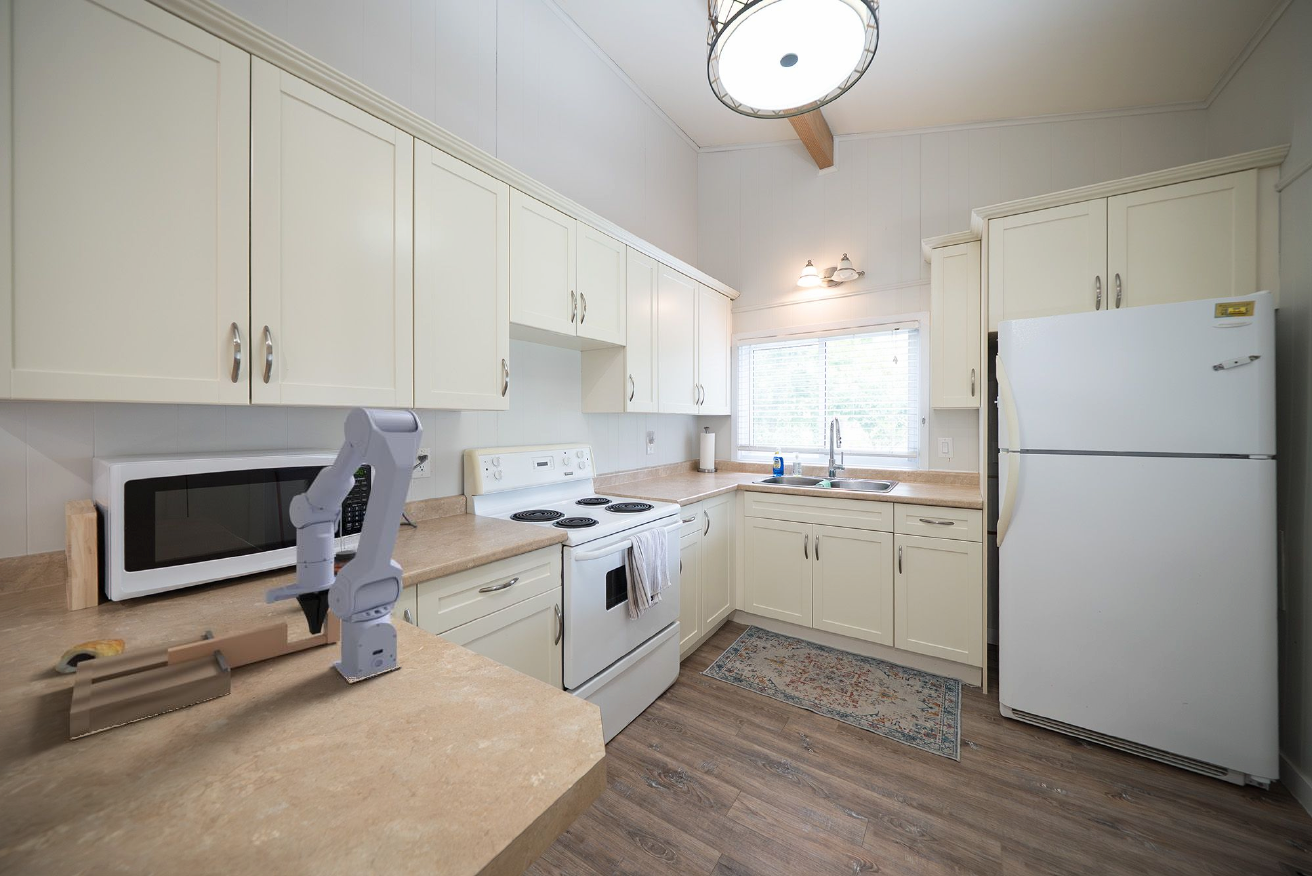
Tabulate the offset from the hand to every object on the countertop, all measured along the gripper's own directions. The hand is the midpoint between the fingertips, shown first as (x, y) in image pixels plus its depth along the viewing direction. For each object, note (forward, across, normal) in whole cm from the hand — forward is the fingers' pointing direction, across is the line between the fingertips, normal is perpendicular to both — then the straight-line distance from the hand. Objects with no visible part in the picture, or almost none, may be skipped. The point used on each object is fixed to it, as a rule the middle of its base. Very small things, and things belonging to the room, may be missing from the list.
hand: (315, 632), depth 91 cm
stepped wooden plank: (+2, +8, 0) cm, 8 cm away
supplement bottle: (+3, -12, -25) cm, 28 cm away
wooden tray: (+3, +20, 0) cm, 20 cm away
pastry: (+3, +27, -20) cm, 34 cm away
